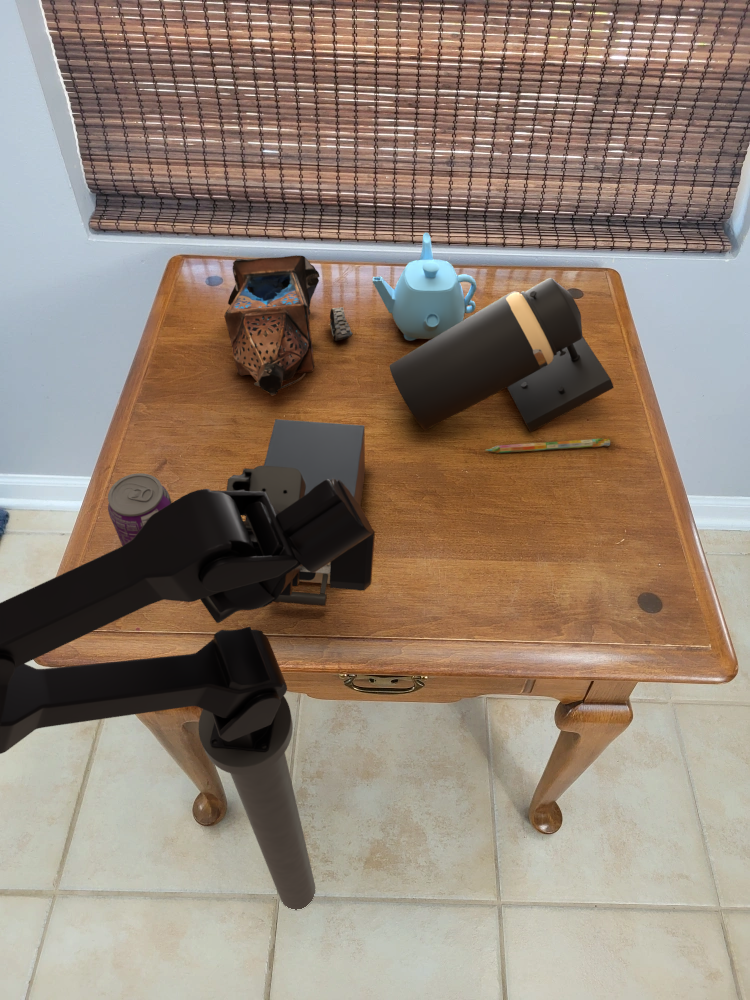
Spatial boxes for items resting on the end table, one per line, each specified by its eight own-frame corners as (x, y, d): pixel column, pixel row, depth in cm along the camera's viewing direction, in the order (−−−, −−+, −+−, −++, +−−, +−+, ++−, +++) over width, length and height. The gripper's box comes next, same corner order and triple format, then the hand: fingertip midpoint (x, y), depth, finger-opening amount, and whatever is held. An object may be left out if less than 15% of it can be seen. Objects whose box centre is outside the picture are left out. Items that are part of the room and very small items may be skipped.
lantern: (273, 343, 133) (274, 443, 116) (199, 284, 123) (189, 384, 106) (342, 285, 126) (354, 383, 109) (270, 218, 116) (271, 313, 99)
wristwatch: (330, 343, 125) (336, 338, 121) (327, 311, 125) (333, 305, 120) (349, 342, 126) (355, 337, 121) (346, 310, 126) (352, 304, 121)
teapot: (363, 321, 127) (363, 261, 118) (422, 287, 133) (426, 228, 124) (428, 367, 120) (433, 307, 111) (488, 330, 126) (497, 270, 117)
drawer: (340, 615, 91) (338, 579, 85) (253, 607, 91) (245, 571, 85) (355, 505, 101) (354, 466, 95) (277, 499, 102) (271, 460, 96)
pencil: (484, 456, 108) (609, 447, 109) (485, 450, 107) (611, 442, 108) (483, 449, 109) (607, 441, 110) (484, 444, 108) (609, 435, 109)
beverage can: (192, 533, 99) (173, 472, 90) (177, 579, 95) (156, 520, 86) (138, 528, 100) (114, 467, 90) (121, 574, 95) (94, 515, 86)
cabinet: (354, 554, 97) (352, 507, 90) (263, 547, 98) (255, 500, 90) (364, 474, 106) (364, 425, 98) (281, 468, 106) (275, 418, 99)
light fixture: (379, 344, 109) (544, 246, 103) (428, 413, 122) (577, 330, 116) (403, 407, 101) (584, 305, 95) (453, 473, 114) (614, 387, 108)
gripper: (373, 482, 67) (382, 470, 82) (163, 467, 68) (211, 458, 83) (365, 607, 68) (375, 572, 84) (158, 590, 69) (206, 559, 85)
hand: (292, 538), depth 84 cm, fingers closed
